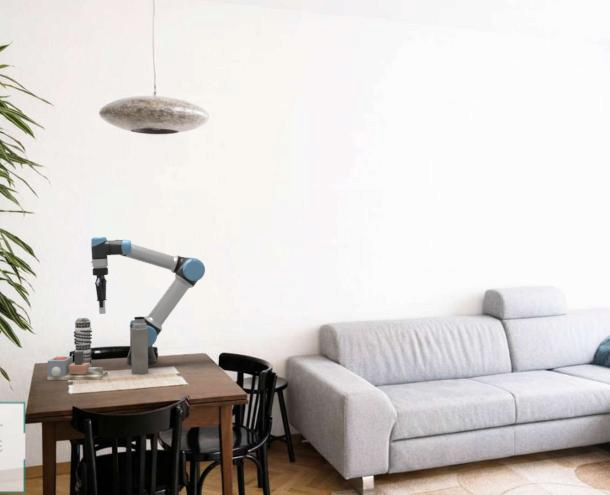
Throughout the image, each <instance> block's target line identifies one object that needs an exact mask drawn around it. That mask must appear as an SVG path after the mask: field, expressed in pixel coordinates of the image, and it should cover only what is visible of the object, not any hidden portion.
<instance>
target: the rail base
mask: <svg viewBox="0 0 610 495" xmlns="http://www.w3.org/2000/svg"><path fill="white" fill-rule="evenodd" d="M107 374H108V375H109V371H107V370H105V371H104V367H102V366H101V367H100V366H98V367H97V366H95V367H94V366H93V367H92V366H90V367H87V373H86V374H68V375H67V376H65V377H48V376H46V377H47V378H46V379H47V381H87V380H88V381H100V380H102V379H104V378H105V377H107V376H108V375H107ZM103 377H104V378H103Z"/></svg>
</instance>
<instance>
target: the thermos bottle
mask: <svg viewBox="0 0 610 495" xmlns="http://www.w3.org/2000/svg"><path fill="white" fill-rule="evenodd" d="M145 317H146V316H134V318H133V320H134V323H133V328H131V364H130V365H131V374H132V375H134V374H142V375H147V374H148V373H149V364H148V328H147V327H146V323H145V320H144V318H145ZM146 373H147V374H146Z"/></svg>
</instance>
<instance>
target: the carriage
mask: <svg viewBox="0 0 610 495" xmlns="http://www.w3.org/2000/svg"><path fill="white" fill-rule="evenodd" d="M74 360H75V361H74V362H73V363H72V364H70V365H69V366H68V369H69V374H86V373H87V367H89V366H90V363H84V358H83V351H77V352H75V351H74ZM90 367H91V366H90Z"/></svg>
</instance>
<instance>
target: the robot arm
mask: <svg viewBox="0 0 610 495" xmlns="http://www.w3.org/2000/svg"><path fill="white" fill-rule="evenodd" d="M90 240H91V242H90V243H91V244H90V246H91V250H90V251H91V263H90V264H91V265H92V267H93V268H92V276H96V279H95V283H94V284H95V290H96V291H95V292H96V298H97V299H96V302H98V312H99V315H105V314H106V301H107V282H108V281H107V279H106V277H105V276H107V275H108V274H109V268H108V266H109V263H108V261H109V259H108V256H122V257H125V258H128V259H133V260H135V261H138V262H142V263H146V264H149V265H153V266H157V267H160V268H162V269H166V270H169V271H171V273H173V274H174V276H175V277H174V280H173V281H172V283H171V284H170V286H169V287H168V289H167V290H166V291H165V292H164V294H163V295H162V296H161V298H160V299H159V301H157V303H156V305H155V306H154V307H153V309H152V310H151V311H150V313H149V314H148V315H147V316H144V317H145V318H144V320H145V323H146V327H147V328H148V365H149V364H153V363H156V362H157V357H156V354H155V351H154V348H153V345H155V342H156V341H157V339H158V336H159V335H160V334H161V332H162V330H163V327H162V326H163V325H164V323H165V321H166V320H167V319H168V317H169V316H170V315H171V313H172V312H173V310H174V309H175V308H176V307H177V305H178V304H179V302H180V301H181V299H182V298H183V296H184V295H185V294H186V293H187V291H188V290H189V289H190V288H191V289H192V288H193V287H195V285H196V284H197V282H198V281H199V280H201V279H202V278H203V277H204V275H205V272H206V267H205V264H204V263H203V262H202V260H200V259H198V258H195V257H187V256H186V257H184V256H180V255H176V256H174V255H170V254H167V253H164V252H161V251H157V250H154V249H151V248H146V247H143V246H140V245H138V244H137V245H136V244H133V243H132V241H131V240H130V239H115V240H108V239H107V237H106V236H100V237H96V236H95V237H92V238H91V239H90ZM134 320H135V319H133V320H130V323H129V333H130V334H129V338H130V340H129V341H130V342H129V343H130V344H129V345H130V348H129V351H128V353H127V354H128V355H127V358H126V364H129V365H132V364H131V328H133V323H134Z"/></svg>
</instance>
